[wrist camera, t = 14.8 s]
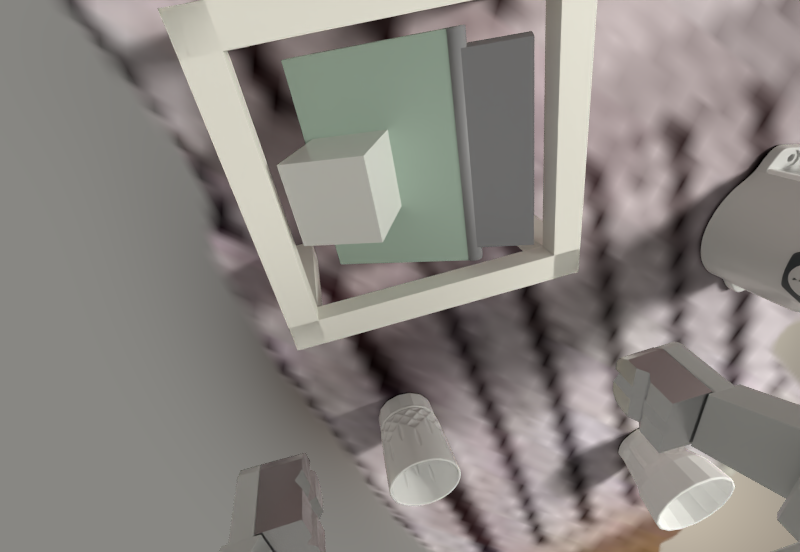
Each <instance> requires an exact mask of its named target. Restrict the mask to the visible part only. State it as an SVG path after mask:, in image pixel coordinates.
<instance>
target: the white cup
mask: <svg viewBox="0 0 800 552" xmlns="http://www.w3.org/2000/svg"><path fill="white" fill-rule="evenodd" d="M379 424H380V429H381V441H382V446H383V455H384V461H385V467H386V473H387V479H388V485H389V492H390V496H391V497H392V499H393V500H394V501H395V502H397V503H399V504H401V505H405V506H422V505H427V504H430V503H433V502H435V501H438V500H440V499H442V498H443V497H445V496H446V495H448V494H449V493H450V492H451V491H452V490H453V489H454V488H455V487H456V486H457V484H458V483H459V480H460V477H461V471H460V468H459V466H458V464H457V462H456V459H455V457H454V455H453V452H452V450H451V448H450V446H449V443H448V441H447V439H446V436H445V434H444V432H443V430H442V428H441V426H440V424H439V422H438V419H437V418H436V417H435V415H434V413H433V410H432V408H431V406H430V403H429V401H428V399H426V398H425V397H423V396H422V395H420V394H414V393H406V394H401V395H397V396H395V397H394V398H392V399H390V400H388V401H387V402H386V403H385V405H384V406H383V407H382V408H381V410H380V414H379Z"/></svg>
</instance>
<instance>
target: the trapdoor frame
mask: <svg viewBox="0 0 800 552" xmlns="http://www.w3.org/2000/svg"><path fill="white" fill-rule="evenodd" d="M466 1H474V0H201V1H195V2H190V3H185V4H180V5H175V6H169V7H164V8H159V9H158V11H159V13H160V16H161V18H162V21H163V23H164V25H165V28H166V30H167V33H168V35H169V38H170V40H171V42H172V45H173V47H174V50H175V52H176V55H177V57H178V60H179V62H180V64H181V67H182V69H183V72H184V74H185V77H186V79H187V81H188V84H189V86H190V89H191V91H192V94H193V96H194V99H195V101H196V103H197V106H198V108H199V111H200V113H201V116H202V118H203V120H204V123H205V125H206V128H207V130H208V133H209V135H210V138H211V140H212V142H213V145H214V147H215V150H216V152H217V155H218V157H219V159H220V162H221V164H222V167H223V169H224V172H225V174H226V177H227V179H228V181H229V184H230V186H231V189H232V191H233V194H234V196H235V198H236V201H237V203H238V206H239V208H240V211H241V213H242V216H243V218H244V220H245V223H246V225H247V228H248V230H249V233H250V235H251V237H252V240H253V242H254V245H255V247H256V250H257V252H258V255H259V257H260V259H261V262H262V264H263V267H264V269H265V272H266V274H267V276H268V279H269V281H270V284H271V286H272V289H273V291H274V293H275V296H276V298H277V301H278V303H279V306H280V308H281V311H282V313H283V315H284V318H285V320H286V323H287V325H288V328H289V330H290V332H291V335H292V337H293V340H294V342H295V345H296V347H297V350H298V351H299V350H303V349H306V348H310V347H313V346H317V345H320V344H324V343H328V342H331V341H335V340H338V339H342V338H345V337H349V336H352V335H356V334H360V333H363V332H367V331H370V330H374V329H377V328H381V327H384V326H388V325H392V324H395V323H399V322H402V321H406V320H409V319H413V318H416V317H420V316H424V315H427V314H431V313H434V312H438V311H441V310H445V309H448V308H452V307H456V306H459V305H463V304H466V303H470V302H473V301H477V300H480V299H484V298H488V297H491V296H495V295H498V294H502V293H505V292H509V291H513V290H516V289H520V288H523V287H527V286H530V285H534V284H537V283H541V282H545V281H548V280H552V279H555V278H559V277H562V276H566V275H569V274H573V273H577V272H578V271H579V257H580V242H581V228H582V213H583V199H584V185H585V170H586V156H587V141H588V127H589V113H590V98H591V84H592V70H593V55H594V41H595V26H596V12H597V0H546V32H545V104H544V176H543V221H542V220H541V219H539V218H538V217H537V216H535V215H534V245H519V246H518V247H519V248H520V249H522V250H523V251H522V252H518V253H515V254H511V255H507V256H504V257H500V258H496V259H493V260H489V261H485V262H482V263H478V264H474V265H470V266H467V267H463V268H459V269H456V270H452V271H448V272H445V273H441V274H437V275H434V276H430V277H426V278H423V279H419V280H415V281H412V282H408V283H404V284H401V285H397V286H393V287H390V288H386V289H382V290H378V291H375V292H371V293H367V294H364V295H360V296H356V297H353V298H349V299H345V300H342V301H338V302H334V303H331V304H327V305H322V296H321V286H320V277H319V267H318V259H317V256H316V253H315V250H314V247H313V246H304V245H303V244H300V245H295V242H294V239H293V236H292V233H291V230H290V227H289V225H288V222H287V219H286V216H285V213H284V210H283V207H282V205H281V202H280V199H279V196H278V193H277V190H276V187H275V185H274V182H273V179H272V176H271V173H270V170H269V167H268V165H267V162H266V159H265V156H264V153H263V150H262V147H261V145H260V142H259V139H258V136H257V133H256V130H255V127H254V125H253V122H252V119H251V116H250V113H249V110H248V107H247V105H246V102H245V99H244V96H243V93H242V90H241V87H240V85H239V82H238V79H237V76H236V73H235V70H234V67H233V65H232V62H231V59H230V56H229V53H228V51H230V50H235V49H240V48H245V47H249V46H252V45H257V44H261V43H266V42H271V41H276V40H281V39H286V38H291V37H296V36H300V35H305V34H310V33H315V32H320V31H325V30H330V29H335V28H339V27H344V26H349V25H354V24H359V23H364V22H369V21H374V20H378V19H383V18H388V17H393V16H398V15H403V14H408V13H413V12H417V11H422V10H427V9H432V8H437V7H442V6H447V5H452V4H457V3H461V2H466Z"/></svg>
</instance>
